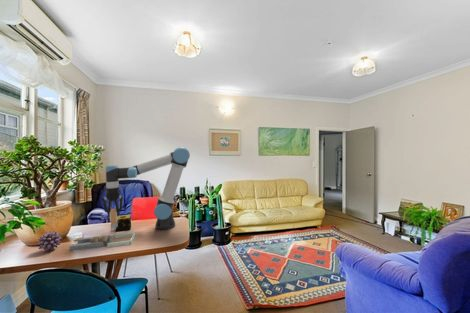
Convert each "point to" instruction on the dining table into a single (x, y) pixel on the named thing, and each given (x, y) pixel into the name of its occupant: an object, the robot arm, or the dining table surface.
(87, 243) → the slot board
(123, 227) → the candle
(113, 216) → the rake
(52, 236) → the flower
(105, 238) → the chip
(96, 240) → the chip
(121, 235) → the tray
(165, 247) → the dining table surface
